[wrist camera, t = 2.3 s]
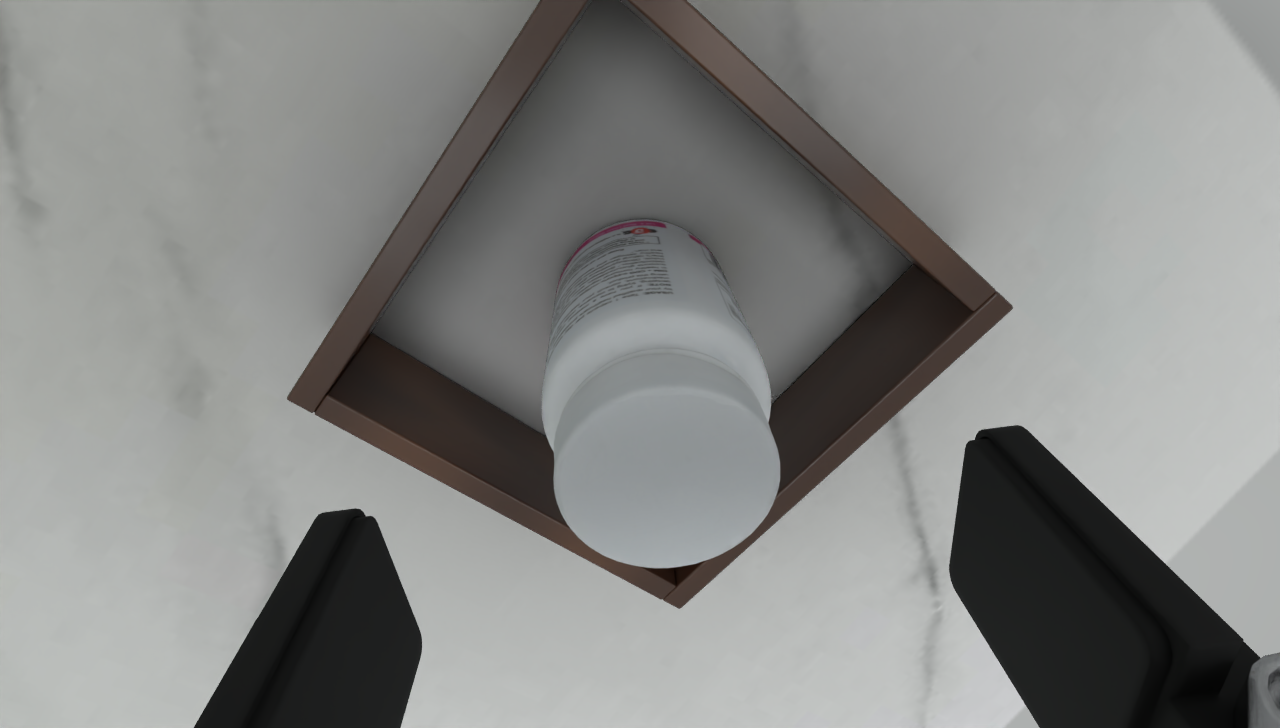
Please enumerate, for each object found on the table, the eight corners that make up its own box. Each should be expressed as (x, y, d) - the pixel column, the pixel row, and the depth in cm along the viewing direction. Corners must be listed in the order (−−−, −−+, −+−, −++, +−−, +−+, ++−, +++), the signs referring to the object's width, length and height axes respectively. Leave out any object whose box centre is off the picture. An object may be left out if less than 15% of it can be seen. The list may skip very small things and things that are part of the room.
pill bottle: (536, 345, 19) (496, 554, 12) (586, 191, 17) (575, 327, 10) (687, 389, 20) (736, 607, 13) (751, 248, 18) (854, 411, 11)
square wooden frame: (337, 336, 19) (285, 399, 16) (596, -66, 15) (594, -86, 12) (669, 529, 23) (679, 610, 20) (947, 259, 19) (1015, 307, 16)
